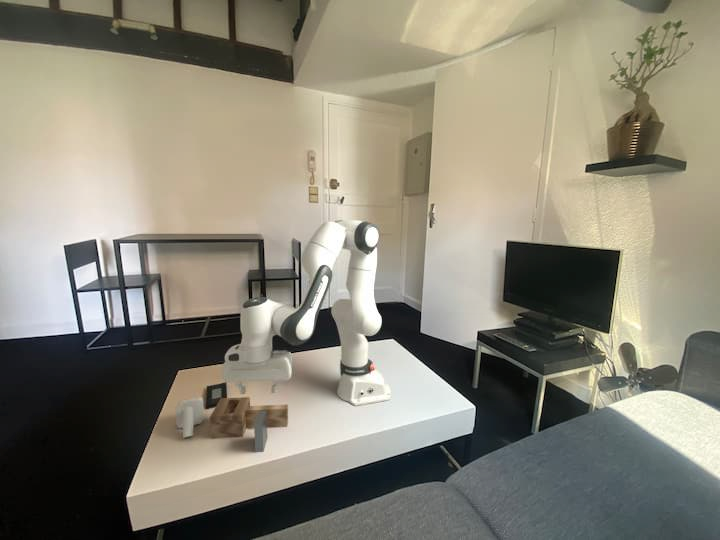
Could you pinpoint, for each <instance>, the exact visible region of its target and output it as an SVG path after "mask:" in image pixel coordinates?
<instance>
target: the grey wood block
mask: <svg viewBox="0 0 720 540" xmlns="http://www.w3.org/2000/svg"><path fill="white" fill-rule="evenodd" d="M253 430H254V431H253V432H254V449H255V451H254V452H255V453H264V452H265V447H266V444H267V442H268V435H269V434H268V428H267V412H266V411H258V414H257V417H256V420H255V422H254V428H253Z"/></svg>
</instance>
